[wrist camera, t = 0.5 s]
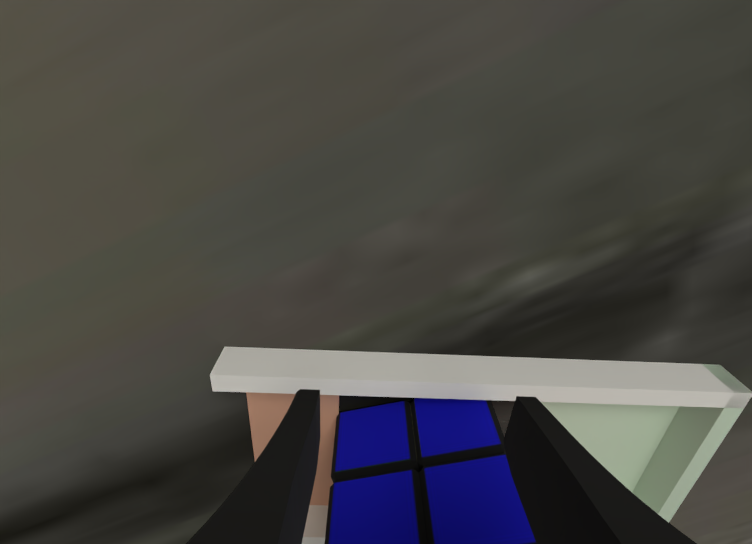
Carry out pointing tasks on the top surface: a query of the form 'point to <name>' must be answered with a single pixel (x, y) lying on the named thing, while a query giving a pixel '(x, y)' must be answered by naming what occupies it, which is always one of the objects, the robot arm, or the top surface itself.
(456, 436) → the puzzle cube
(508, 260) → the top surface
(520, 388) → the trap channel
